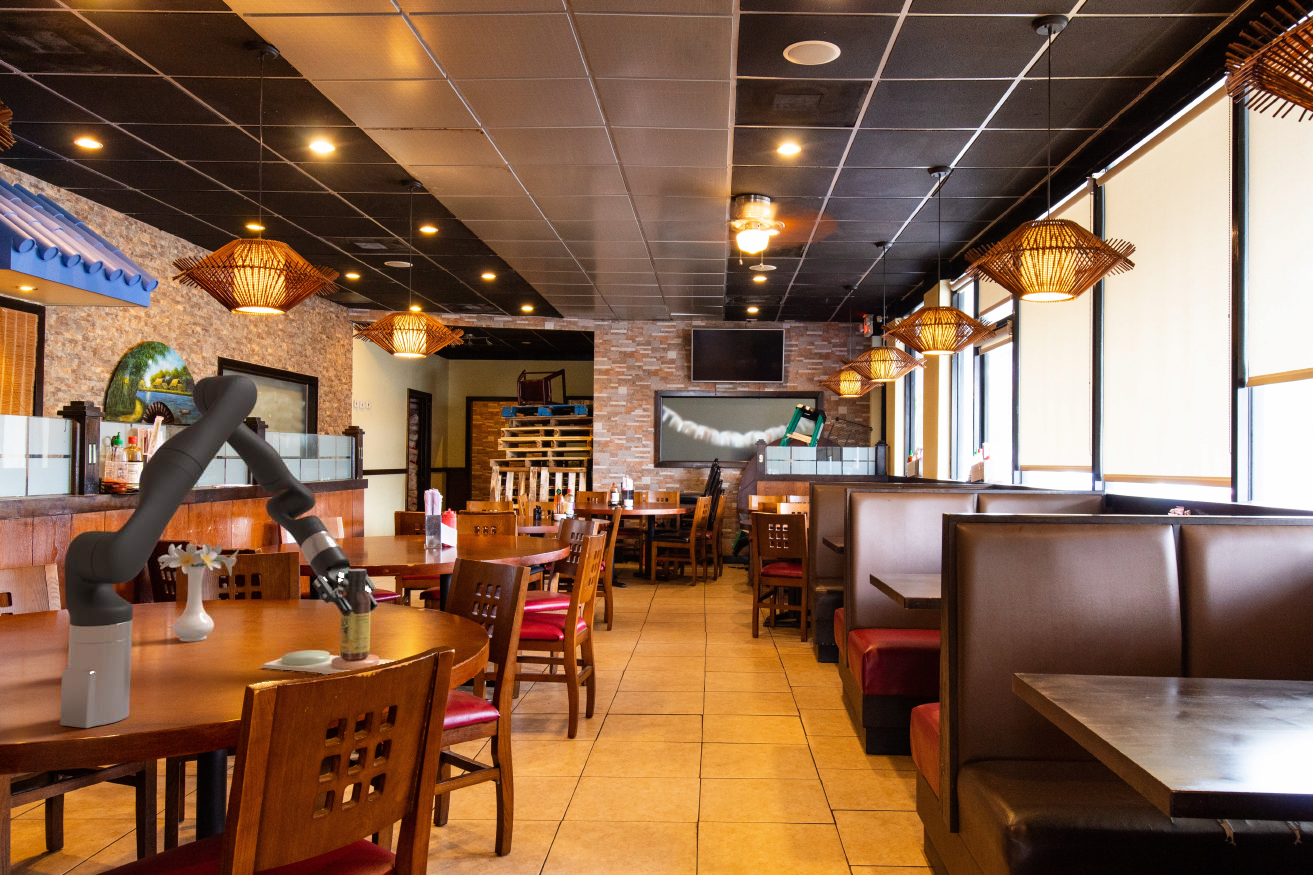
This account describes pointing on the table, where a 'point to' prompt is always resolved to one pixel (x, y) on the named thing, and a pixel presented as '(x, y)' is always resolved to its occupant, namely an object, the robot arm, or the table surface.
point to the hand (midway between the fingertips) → (361, 610)
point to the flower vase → (195, 587)
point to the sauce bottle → (356, 618)
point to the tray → (322, 662)
